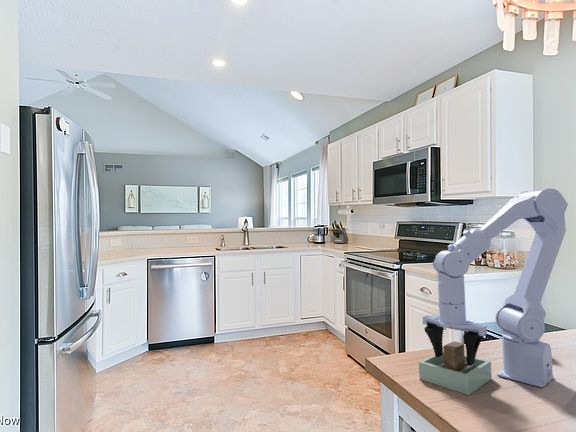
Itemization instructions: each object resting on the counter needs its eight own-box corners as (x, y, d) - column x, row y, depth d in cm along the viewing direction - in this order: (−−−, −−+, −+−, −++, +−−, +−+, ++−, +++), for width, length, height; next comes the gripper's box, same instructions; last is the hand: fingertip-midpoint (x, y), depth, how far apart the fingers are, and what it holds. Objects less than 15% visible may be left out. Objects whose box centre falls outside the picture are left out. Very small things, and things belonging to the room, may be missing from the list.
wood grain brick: (465, 377, 90) (464, 343, 90) (455, 383, 87) (453, 348, 87) (455, 374, 92) (453, 341, 92) (444, 380, 89) (443, 346, 89)
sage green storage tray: (491, 378, 89) (490, 361, 89) (468, 394, 81) (468, 376, 81) (443, 365, 98) (443, 349, 98) (419, 379, 90) (418, 362, 90)
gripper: (414, 300, 93) (417, 356, 92) (475, 309, 82) (478, 373, 81) (430, 296, 97) (432, 349, 97) (489, 304, 86) (492, 364, 86)
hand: (454, 360), depth 89 cm, fingers open, 7 cm apart
